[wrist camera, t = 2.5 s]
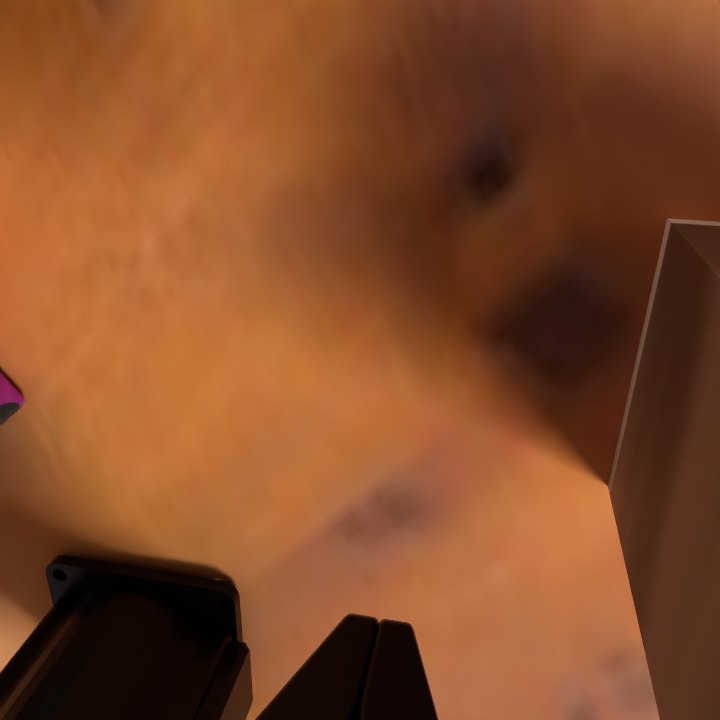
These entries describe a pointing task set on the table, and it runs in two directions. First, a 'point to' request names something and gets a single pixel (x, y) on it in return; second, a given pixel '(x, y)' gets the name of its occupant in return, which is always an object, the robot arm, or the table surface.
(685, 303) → the walnut block
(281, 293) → the table surface
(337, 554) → the table surface
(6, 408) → the candy bar box
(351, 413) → the table surface
